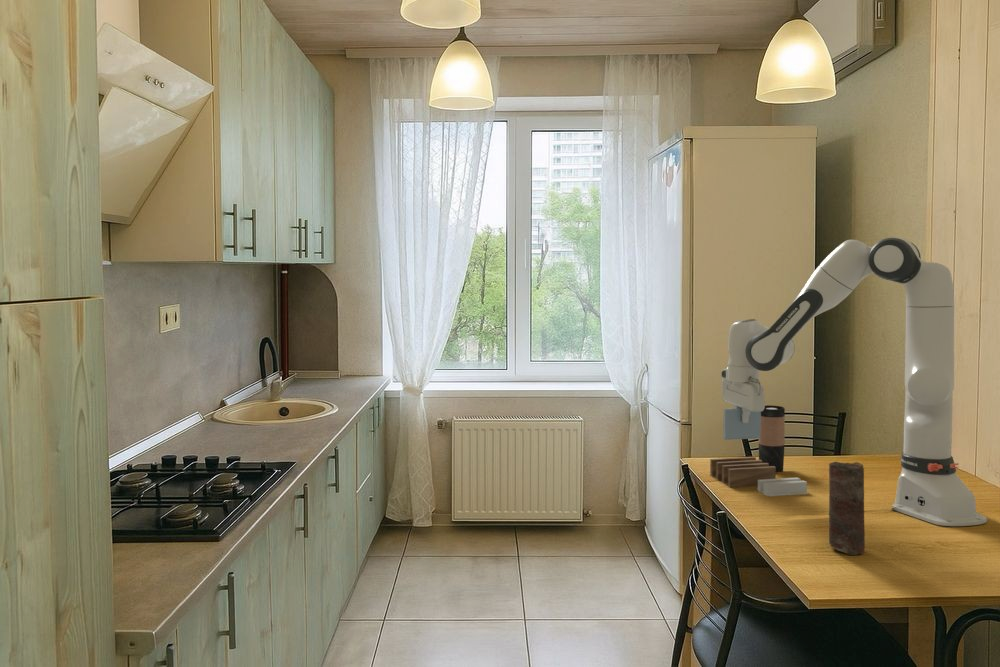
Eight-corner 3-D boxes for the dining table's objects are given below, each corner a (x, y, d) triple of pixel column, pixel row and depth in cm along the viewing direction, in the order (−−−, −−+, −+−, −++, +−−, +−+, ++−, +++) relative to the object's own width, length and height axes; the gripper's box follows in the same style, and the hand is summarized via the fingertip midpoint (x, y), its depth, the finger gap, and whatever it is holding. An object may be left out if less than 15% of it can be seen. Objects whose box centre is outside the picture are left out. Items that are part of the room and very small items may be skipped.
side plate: (760, 438, 238) (760, 408, 237) (725, 439, 236) (725, 409, 235) (758, 437, 239) (758, 407, 238) (723, 438, 237) (723, 408, 236)
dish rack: (776, 487, 233) (776, 467, 232) (730, 490, 230) (730, 470, 230) (753, 475, 246) (753, 456, 246) (709, 478, 244) (709, 458, 244)
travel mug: (787, 474, 248) (788, 409, 246) (762, 474, 248) (763, 409, 246) (779, 467, 255) (780, 405, 254) (755, 468, 256) (755, 405, 254)
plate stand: (808, 497, 223) (808, 482, 223) (768, 499, 221) (768, 485, 221) (795, 490, 230) (795, 476, 230) (755, 492, 228) (756, 478, 228)
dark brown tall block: (822, 549, 182) (823, 462, 180) (836, 541, 187) (837, 456, 186) (856, 558, 177) (858, 468, 175) (869, 549, 182) (871, 462, 180)
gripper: (770, 379, 226) (770, 428, 227) (737, 370, 246) (737, 414, 247) (749, 380, 225) (749, 429, 226) (718, 370, 245) (717, 415, 246)
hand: (742, 421), depth 237 cm, fingers closed on side plate, 1 cm apart
